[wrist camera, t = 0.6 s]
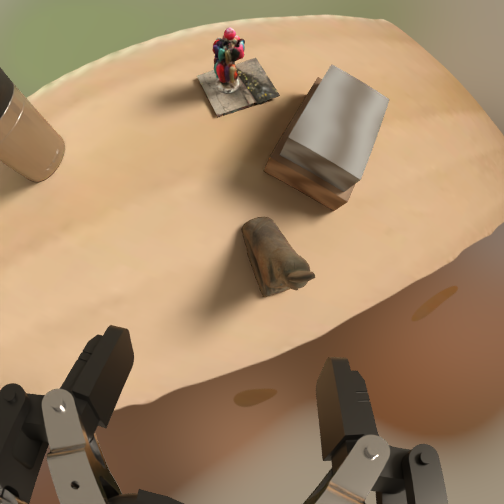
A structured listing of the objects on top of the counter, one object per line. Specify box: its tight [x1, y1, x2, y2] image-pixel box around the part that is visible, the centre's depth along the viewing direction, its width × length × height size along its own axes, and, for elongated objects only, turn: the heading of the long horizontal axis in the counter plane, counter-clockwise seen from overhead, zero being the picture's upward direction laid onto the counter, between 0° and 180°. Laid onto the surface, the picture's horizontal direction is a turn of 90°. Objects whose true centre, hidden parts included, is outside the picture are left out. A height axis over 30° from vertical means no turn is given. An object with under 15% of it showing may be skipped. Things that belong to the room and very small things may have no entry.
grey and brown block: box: [264, 65, 389, 211], centre depth 38 cm, size 12×18×10 cm, turn 152°
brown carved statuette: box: [242, 217, 315, 297], centre depth 33 cm, size 11×5×16 cm, turn 12°
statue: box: [197, 28, 280, 118], centre depth 36 cm, size 11×9×15 cm
